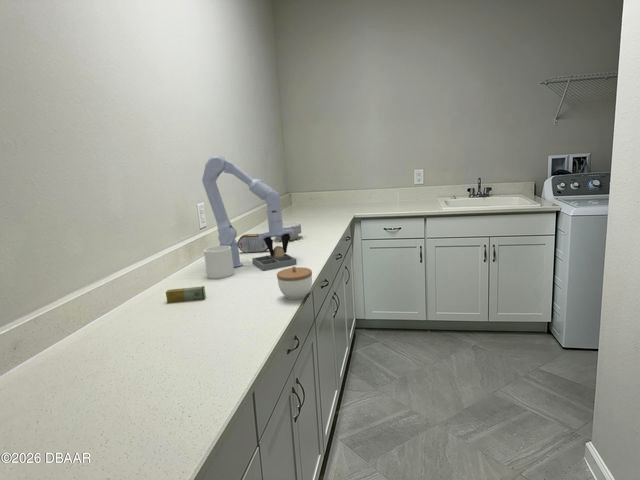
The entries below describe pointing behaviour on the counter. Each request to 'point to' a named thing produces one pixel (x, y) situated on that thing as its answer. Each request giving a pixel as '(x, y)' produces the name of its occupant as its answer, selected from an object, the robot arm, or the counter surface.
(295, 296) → the lidded jar
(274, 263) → the grey compartment tray
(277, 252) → the egg
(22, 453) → the counter surface
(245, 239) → the tin
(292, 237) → the paper bowls
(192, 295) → the medication box
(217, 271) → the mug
